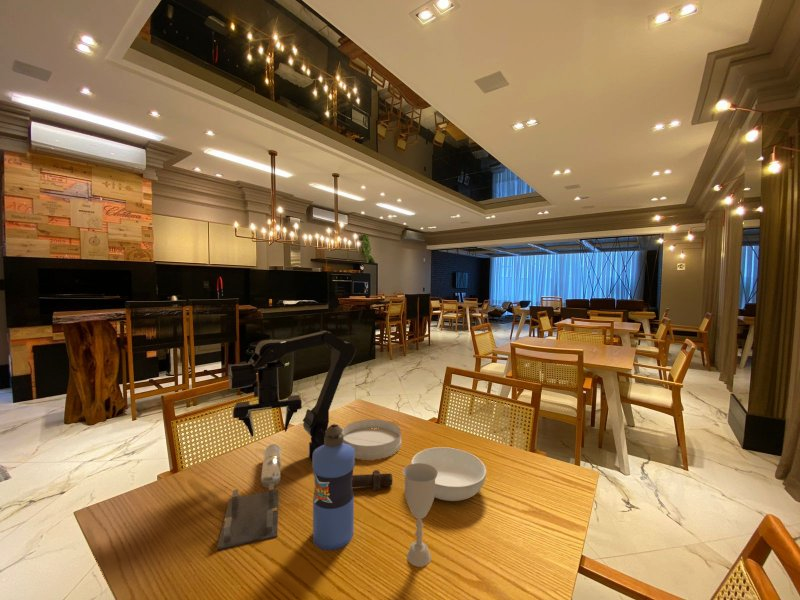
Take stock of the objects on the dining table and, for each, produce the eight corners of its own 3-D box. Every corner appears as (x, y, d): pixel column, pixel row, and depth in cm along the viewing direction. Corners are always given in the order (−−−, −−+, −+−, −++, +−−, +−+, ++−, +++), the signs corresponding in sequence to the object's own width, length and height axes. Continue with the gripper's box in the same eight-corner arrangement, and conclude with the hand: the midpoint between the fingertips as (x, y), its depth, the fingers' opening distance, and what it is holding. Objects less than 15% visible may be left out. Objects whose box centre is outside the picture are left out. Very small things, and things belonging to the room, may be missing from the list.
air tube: (281, 458, 106) (280, 442, 106) (280, 485, 91) (280, 468, 91) (264, 461, 104) (263, 445, 104) (261, 489, 89) (260, 471, 89)
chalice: (436, 545, 70) (437, 464, 70) (436, 572, 64) (438, 482, 63) (403, 542, 71) (403, 462, 71) (400, 568, 64) (400, 480, 64)
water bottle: (336, 514, 80) (336, 414, 79) (362, 532, 74) (363, 425, 73) (303, 536, 73) (303, 426, 72) (330, 558, 67) (330, 439, 66)
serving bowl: (488, 519, 79) (489, 491, 79) (404, 506, 83) (404, 480, 83) (483, 472, 99) (484, 450, 99) (416, 464, 103) (416, 443, 103)
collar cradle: (278, 491, 88) (278, 478, 88) (277, 536, 72) (277, 520, 72) (229, 501, 84) (229, 487, 84) (216, 550, 68) (216, 533, 68)
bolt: (391, 494, 91) (337, 497, 89) (390, 476, 95) (338, 478, 93) (394, 482, 88) (338, 485, 86) (392, 464, 92) (339, 467, 90)
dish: (328, 455, 109) (328, 440, 109) (355, 428, 130) (355, 416, 130) (390, 466, 103) (390, 450, 102) (408, 436, 124) (408, 423, 124)
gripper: (298, 372, 108) (299, 418, 108) (236, 379, 101) (237, 428, 102) (301, 382, 97) (302, 432, 98) (232, 389, 91) (233, 444, 91)
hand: (269, 433), depth 98 cm, fingers open, 9 cm apart
